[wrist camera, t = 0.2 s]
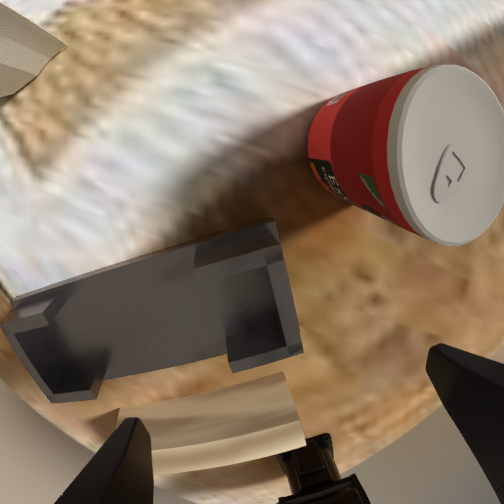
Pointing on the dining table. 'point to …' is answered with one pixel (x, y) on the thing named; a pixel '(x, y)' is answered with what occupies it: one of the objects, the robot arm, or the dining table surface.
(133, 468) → the robot arm
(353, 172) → the canned food
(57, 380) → the bracket
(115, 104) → the dining table surface
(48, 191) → the dining table surface
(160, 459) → the beige rectangular block
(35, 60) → the paper towel roll
